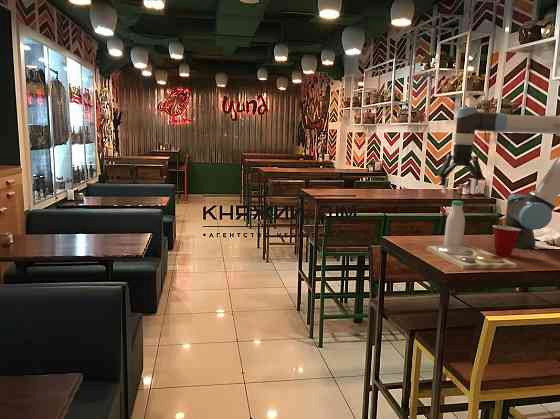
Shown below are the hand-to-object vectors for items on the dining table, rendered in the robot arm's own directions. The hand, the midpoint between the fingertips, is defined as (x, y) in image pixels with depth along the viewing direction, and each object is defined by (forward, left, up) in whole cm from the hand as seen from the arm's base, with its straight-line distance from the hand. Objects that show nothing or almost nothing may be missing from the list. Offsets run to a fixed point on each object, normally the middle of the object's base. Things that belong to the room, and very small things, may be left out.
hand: (458, 193), depth 205 cm
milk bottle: (0, 0, -24) cm, 24 cm away
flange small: (+11, +29, -22) cm, 38 cm away
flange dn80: (+1, +27, -22) cm, 35 cm away
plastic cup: (-14, +15, -24) cm, 31 cm away
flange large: (+8, +14, -22) cm, 27 cm away
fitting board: (+5, +20, -23) cm, 31 cm away
